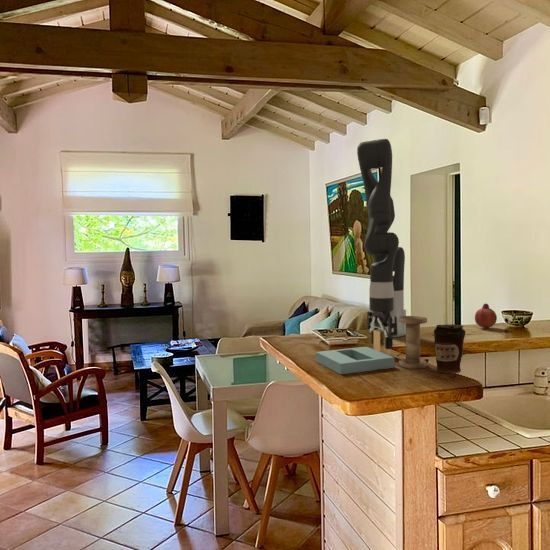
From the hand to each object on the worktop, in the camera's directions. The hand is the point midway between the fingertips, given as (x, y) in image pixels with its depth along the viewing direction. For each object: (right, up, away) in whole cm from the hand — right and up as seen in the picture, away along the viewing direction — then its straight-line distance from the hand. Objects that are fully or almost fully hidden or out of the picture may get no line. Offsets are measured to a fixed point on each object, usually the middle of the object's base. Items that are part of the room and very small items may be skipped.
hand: (381, 346), depth 171 cm
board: (-10, -4, -11) cm, 16 cm away
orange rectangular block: (0, -3, 0) cm, 3 cm away
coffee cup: (+15, -5, -21) cm, 26 cm away
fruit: (+49, +1, +41) cm, 64 cm away
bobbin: (+7, -4, -13) cm, 15 cm away
